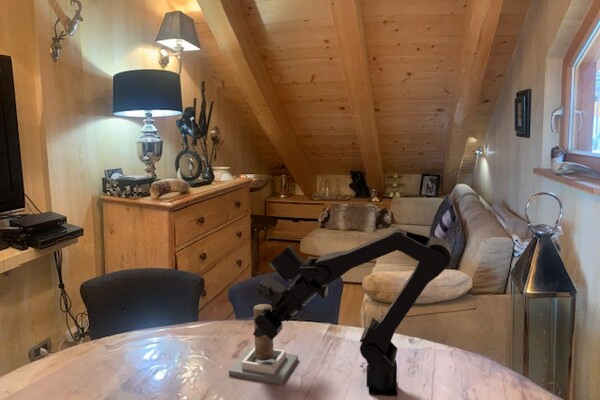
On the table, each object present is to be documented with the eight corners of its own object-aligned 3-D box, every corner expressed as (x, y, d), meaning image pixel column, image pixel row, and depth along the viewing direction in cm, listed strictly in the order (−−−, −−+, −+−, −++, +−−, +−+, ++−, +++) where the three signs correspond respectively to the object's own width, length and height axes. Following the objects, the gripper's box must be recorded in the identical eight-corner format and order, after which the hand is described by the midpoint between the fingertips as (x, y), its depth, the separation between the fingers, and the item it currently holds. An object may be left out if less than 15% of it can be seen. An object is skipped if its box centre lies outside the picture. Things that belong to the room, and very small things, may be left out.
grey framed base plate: (297, 359, 118) (297, 348, 117) (281, 384, 107) (281, 373, 106) (249, 351, 122) (249, 341, 122) (229, 374, 111) (228, 363, 111)
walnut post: (276, 352, 116) (274, 305, 113) (269, 361, 111) (267, 312, 109) (259, 350, 117) (258, 303, 115) (252, 359, 113) (250, 310, 110)
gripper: (289, 258, 118) (252, 294, 123) (260, 282, 100) (219, 322, 106) (318, 289, 116) (280, 324, 122) (294, 319, 99) (251, 358, 104)
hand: (258, 331), depth 113 cm, fingers closed on walnut post, 5 cm apart
